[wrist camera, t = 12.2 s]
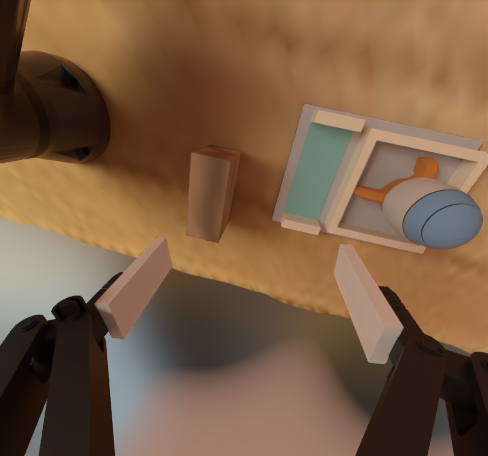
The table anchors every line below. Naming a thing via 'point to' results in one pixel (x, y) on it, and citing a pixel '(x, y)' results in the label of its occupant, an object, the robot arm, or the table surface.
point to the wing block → (211, 191)
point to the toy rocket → (427, 208)
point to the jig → (363, 172)
